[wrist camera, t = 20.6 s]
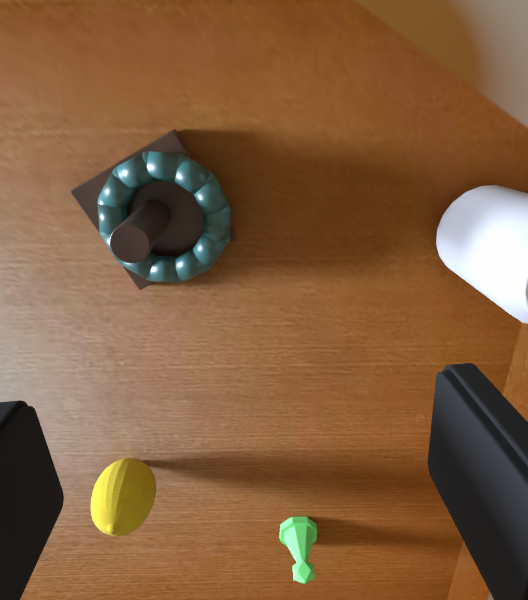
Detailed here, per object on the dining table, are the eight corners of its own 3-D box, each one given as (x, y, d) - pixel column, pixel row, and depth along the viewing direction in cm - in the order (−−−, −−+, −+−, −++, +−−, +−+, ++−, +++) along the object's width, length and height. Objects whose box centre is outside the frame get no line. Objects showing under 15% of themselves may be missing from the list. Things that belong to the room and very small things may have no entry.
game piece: (272, 537, 49) (275, 591, 43) (289, 511, 47) (295, 563, 42) (306, 547, 50) (314, 601, 44) (324, 522, 48) (334, 574, 43)
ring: (191, 126, 31) (188, 127, 29) (252, 244, 34) (252, 252, 32) (77, 188, 32) (67, 192, 30) (146, 295, 36) (141, 305, 34)
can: (540, 204, 35) (676, 245, 24) (488, 285, 38) (589, 355, 27) (463, 168, 34) (569, 193, 23) (414, 254, 36) (489, 314, 25)
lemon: (96, 469, 44) (67, 540, 37) (122, 432, 42) (97, 499, 35) (145, 491, 45) (126, 563, 38) (172, 456, 44) (157, 525, 36)
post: (175, 129, 32) (150, 134, 23) (236, 234, 35) (233, 272, 27) (75, 188, 33) (17, 213, 25) (142, 285, 37) (112, 336, 28)
